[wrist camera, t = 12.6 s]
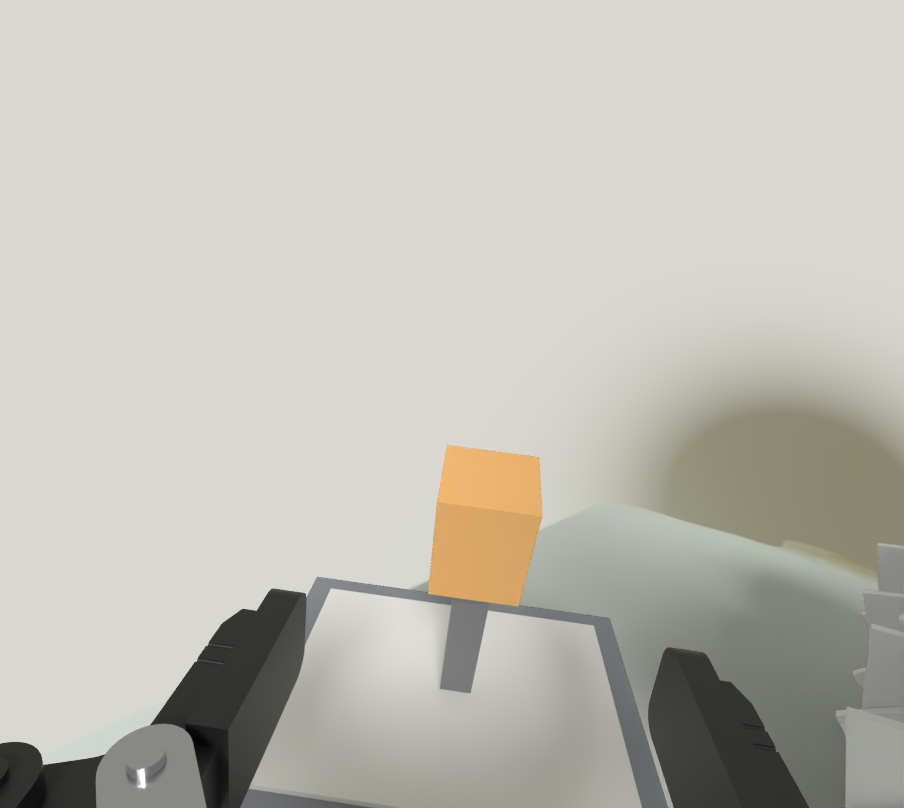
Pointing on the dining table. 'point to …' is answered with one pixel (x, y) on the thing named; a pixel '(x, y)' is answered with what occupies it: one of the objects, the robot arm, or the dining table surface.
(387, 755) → the block
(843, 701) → the dining table surface
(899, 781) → the spiral staircase
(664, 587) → the dining table surface
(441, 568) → the lever
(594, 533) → the dining table surface
